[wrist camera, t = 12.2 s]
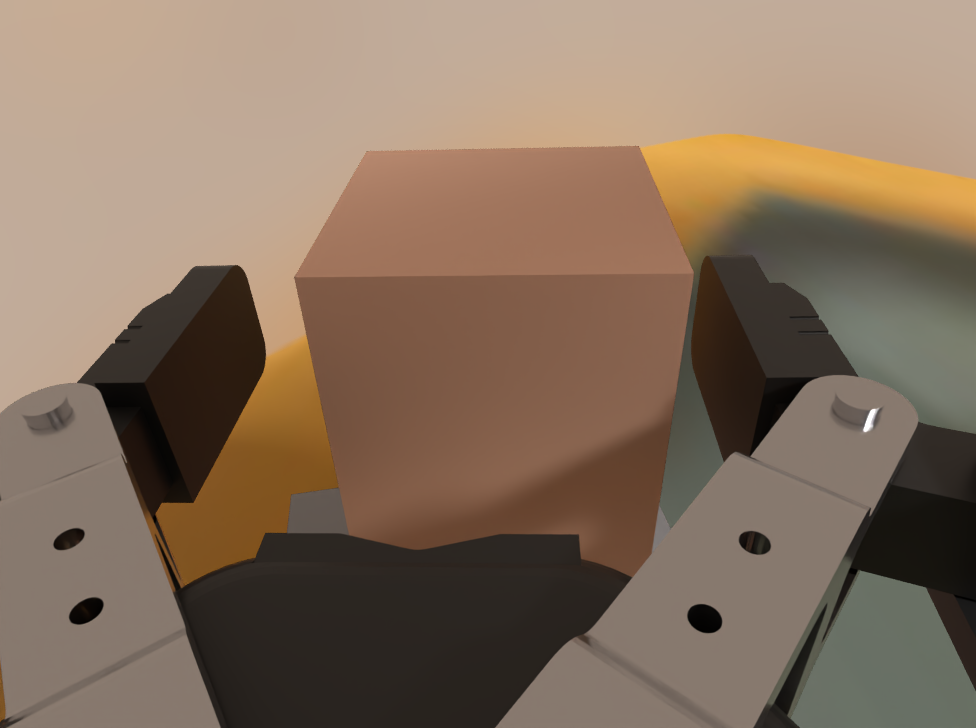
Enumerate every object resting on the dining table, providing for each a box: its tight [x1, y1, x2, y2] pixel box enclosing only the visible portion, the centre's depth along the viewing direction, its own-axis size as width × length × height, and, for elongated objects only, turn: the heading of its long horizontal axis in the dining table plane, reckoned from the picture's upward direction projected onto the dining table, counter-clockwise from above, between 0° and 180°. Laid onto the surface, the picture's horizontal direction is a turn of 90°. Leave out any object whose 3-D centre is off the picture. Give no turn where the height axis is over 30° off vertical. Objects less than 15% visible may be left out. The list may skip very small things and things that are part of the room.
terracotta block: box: [294, 146, 694, 577], centre depth 14 cm, size 5×5×10 cm
